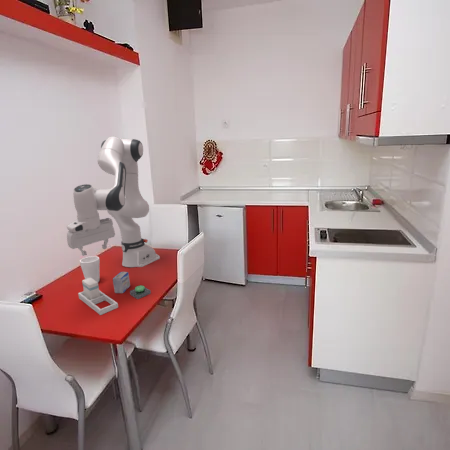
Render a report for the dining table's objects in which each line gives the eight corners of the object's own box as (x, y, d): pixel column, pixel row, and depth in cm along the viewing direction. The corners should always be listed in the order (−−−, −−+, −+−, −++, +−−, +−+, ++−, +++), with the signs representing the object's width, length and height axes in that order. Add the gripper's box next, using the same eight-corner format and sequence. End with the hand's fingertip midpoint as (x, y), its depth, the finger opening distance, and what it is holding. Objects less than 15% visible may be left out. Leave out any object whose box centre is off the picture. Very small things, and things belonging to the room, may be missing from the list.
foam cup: (83, 287, 164) (79, 264, 161) (83, 281, 172) (79, 258, 169) (103, 283, 168) (99, 260, 165) (101, 277, 176) (98, 254, 173)
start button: (142, 292, 156) (141, 284, 155) (147, 295, 153) (146, 287, 152) (134, 295, 153) (133, 287, 152) (138, 298, 150) (137, 290, 149)
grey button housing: (143, 291, 158) (142, 285, 157) (151, 296, 153) (150, 290, 152) (130, 296, 153) (129, 291, 152) (138, 301, 148) (137, 295, 148)
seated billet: (93, 294, 155) (90, 277, 153) (100, 300, 150) (98, 282, 147) (84, 297, 153) (81, 280, 150) (92, 303, 147) (89, 285, 145)
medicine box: (123, 295, 155) (121, 278, 153) (114, 294, 156) (112, 278, 154) (130, 287, 163) (128, 271, 160) (122, 287, 164) (120, 271, 161)
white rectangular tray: (95, 292, 158) (94, 287, 158) (118, 309, 142) (117, 303, 141) (79, 299, 153) (78, 293, 152) (100, 316, 137) (99, 310, 136)
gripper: (108, 215, 150) (113, 243, 154) (62, 227, 136) (69, 257, 140) (114, 218, 146) (119, 246, 150) (68, 229, 132) (75, 260, 136)
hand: (94, 251), depth 145 cm, fingers open, 8 cm apart
